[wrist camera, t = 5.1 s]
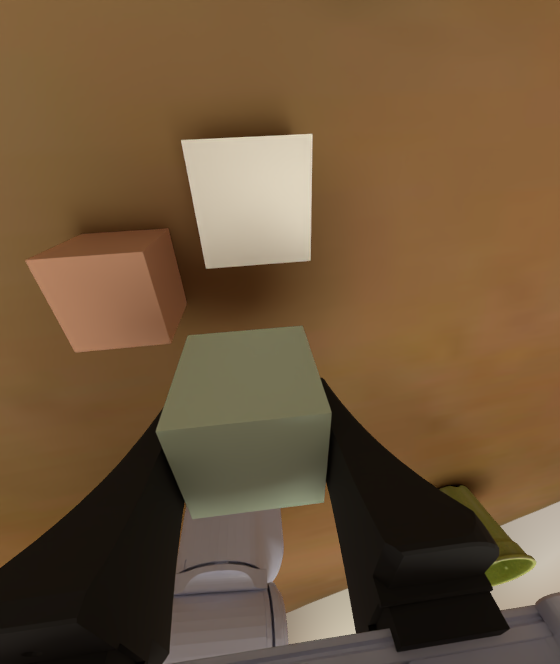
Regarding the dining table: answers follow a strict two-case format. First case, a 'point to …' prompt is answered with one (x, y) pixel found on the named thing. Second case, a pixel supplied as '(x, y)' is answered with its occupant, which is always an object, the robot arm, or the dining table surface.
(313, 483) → the sage block
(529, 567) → the plant pot
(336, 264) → the dining table surface
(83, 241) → the terracotta block
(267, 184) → the offwhite block
